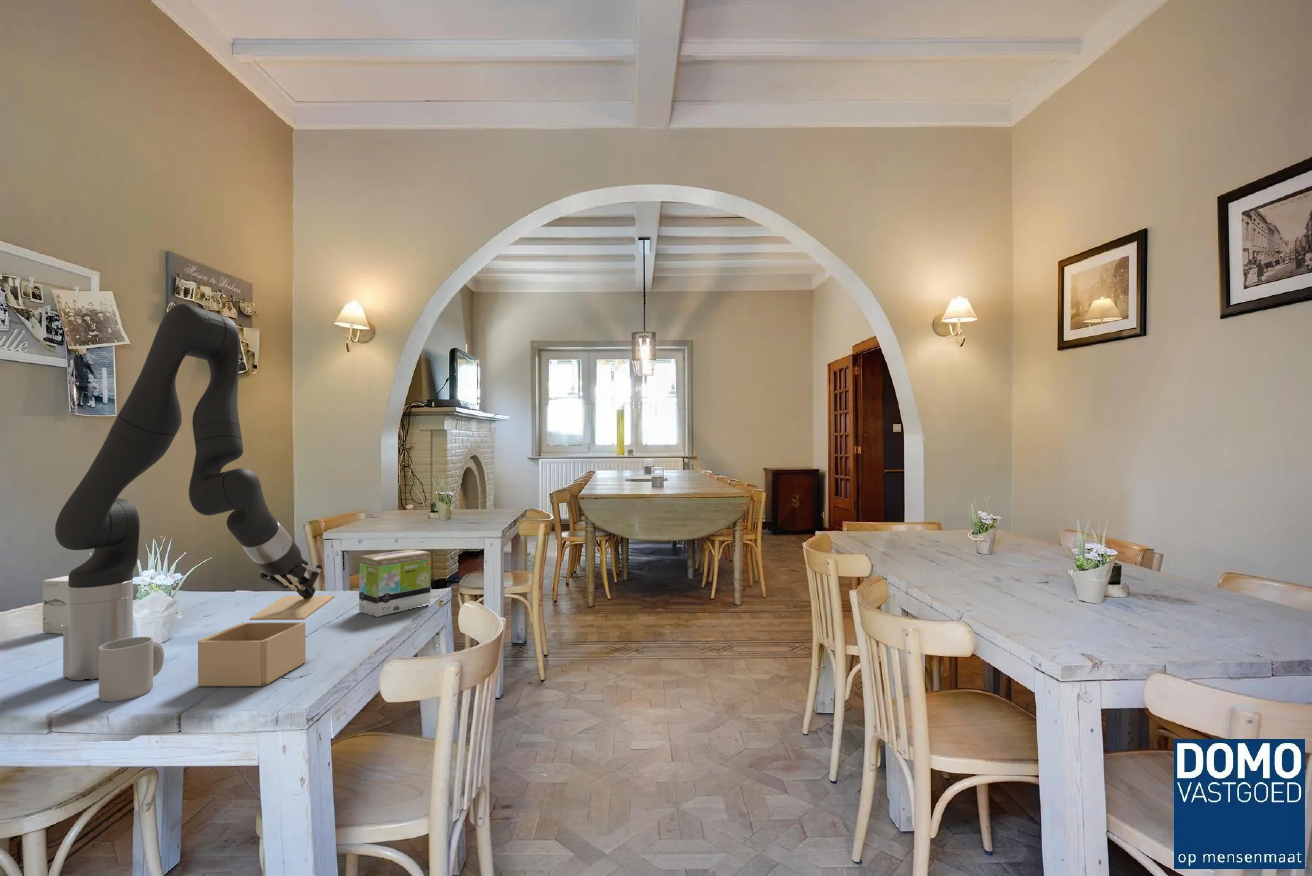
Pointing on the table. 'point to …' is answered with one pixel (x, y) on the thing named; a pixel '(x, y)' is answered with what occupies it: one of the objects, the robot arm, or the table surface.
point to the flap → (292, 608)
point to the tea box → (394, 581)
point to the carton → (250, 654)
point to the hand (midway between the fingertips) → (309, 595)
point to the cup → (128, 668)
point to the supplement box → (55, 605)
